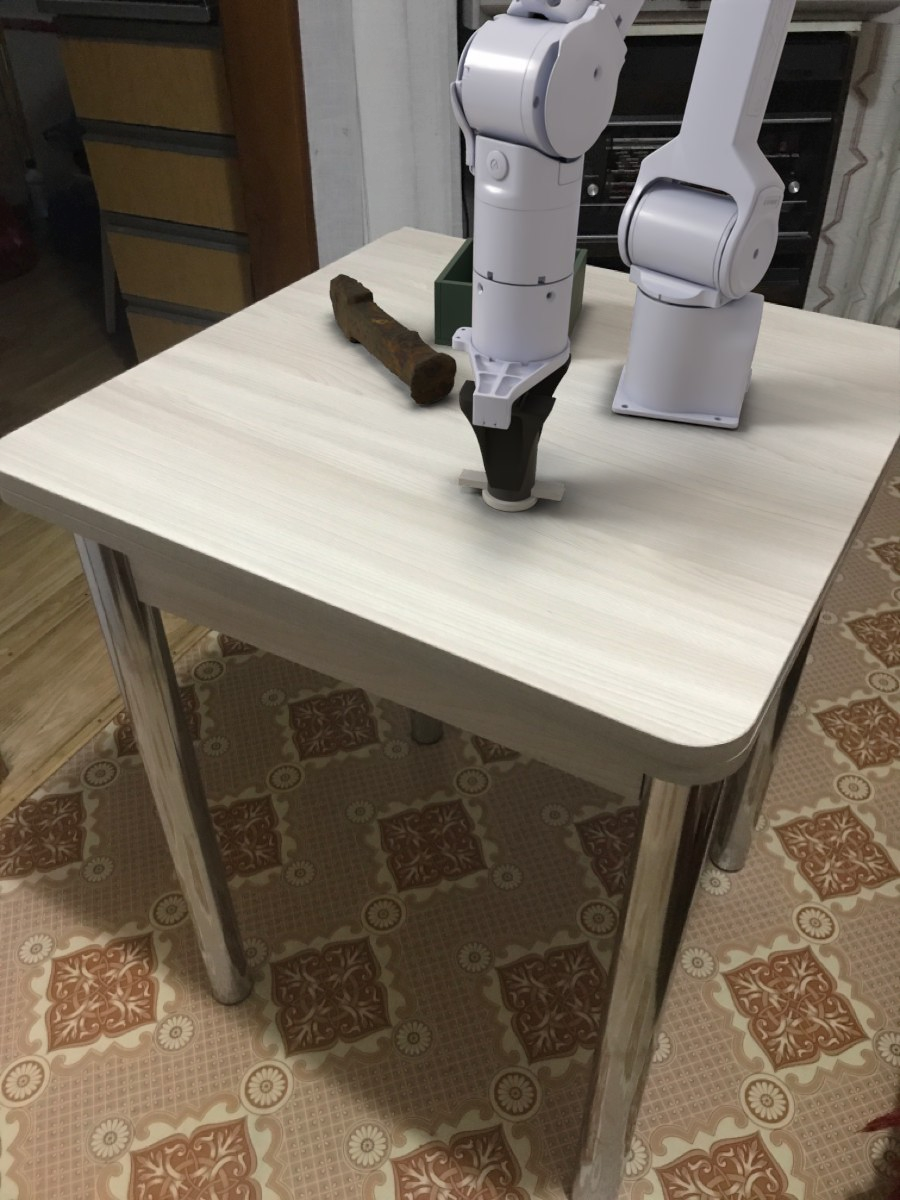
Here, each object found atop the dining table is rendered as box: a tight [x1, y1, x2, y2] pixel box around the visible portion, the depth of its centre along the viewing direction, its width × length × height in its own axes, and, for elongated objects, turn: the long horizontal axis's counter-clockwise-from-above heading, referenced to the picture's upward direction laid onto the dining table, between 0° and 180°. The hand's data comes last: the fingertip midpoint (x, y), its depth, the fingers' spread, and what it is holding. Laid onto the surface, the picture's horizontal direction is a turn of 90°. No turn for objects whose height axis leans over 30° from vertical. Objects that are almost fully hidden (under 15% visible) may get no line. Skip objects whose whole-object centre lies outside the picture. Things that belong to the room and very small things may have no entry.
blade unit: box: [458, 393, 565, 513], centre depth 59 cm, size 7×4×7 cm, turn 74°
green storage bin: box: [433, 237, 589, 346], centre depth 81 cm, size 11×11×6 cm
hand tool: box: [328, 273, 458, 406], centre depth 76 cm, size 19×4×5 cm, turn 28°
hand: (511, 471), depth 60 cm, fingers closed on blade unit, 3 cm apart
